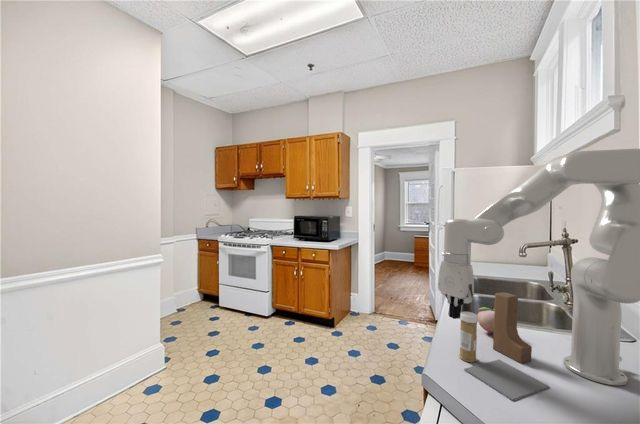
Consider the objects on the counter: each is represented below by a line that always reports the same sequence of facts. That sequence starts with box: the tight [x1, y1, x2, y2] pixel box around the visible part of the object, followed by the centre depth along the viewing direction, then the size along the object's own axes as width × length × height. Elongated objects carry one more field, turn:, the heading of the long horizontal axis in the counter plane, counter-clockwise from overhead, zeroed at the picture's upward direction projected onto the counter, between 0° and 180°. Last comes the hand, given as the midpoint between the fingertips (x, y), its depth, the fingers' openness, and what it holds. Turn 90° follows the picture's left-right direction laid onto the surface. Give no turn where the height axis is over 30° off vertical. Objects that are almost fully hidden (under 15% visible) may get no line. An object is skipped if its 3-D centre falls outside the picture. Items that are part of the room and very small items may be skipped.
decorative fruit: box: [476, 305, 495, 335], centre depth 100 cm, size 9×8×10 cm
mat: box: [463, 359, 550, 402], centre depth 73 cm, size 14×13×1 cm
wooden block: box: [492, 291, 533, 364], centre depth 85 cm, size 9×4×18 cm, turn 20°
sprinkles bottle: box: [458, 311, 478, 363], centre depth 82 cm, size 5×5×13 cm
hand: (455, 317), depth 87 cm, fingers closed
